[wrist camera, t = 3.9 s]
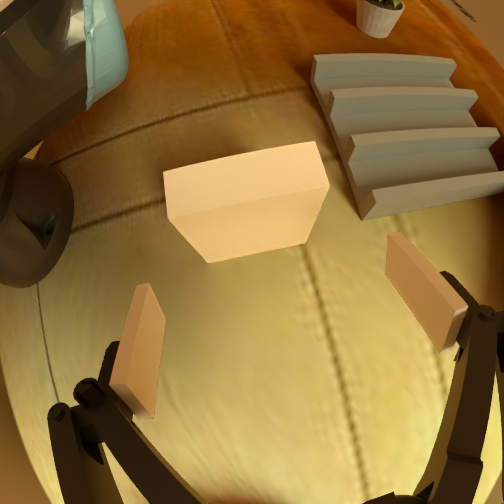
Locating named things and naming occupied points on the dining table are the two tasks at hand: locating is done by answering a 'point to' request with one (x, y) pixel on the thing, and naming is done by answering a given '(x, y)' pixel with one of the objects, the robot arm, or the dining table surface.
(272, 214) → the picture frame
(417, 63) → the notched rack
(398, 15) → the house plant
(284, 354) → the dining table surface
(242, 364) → the dining table surface
